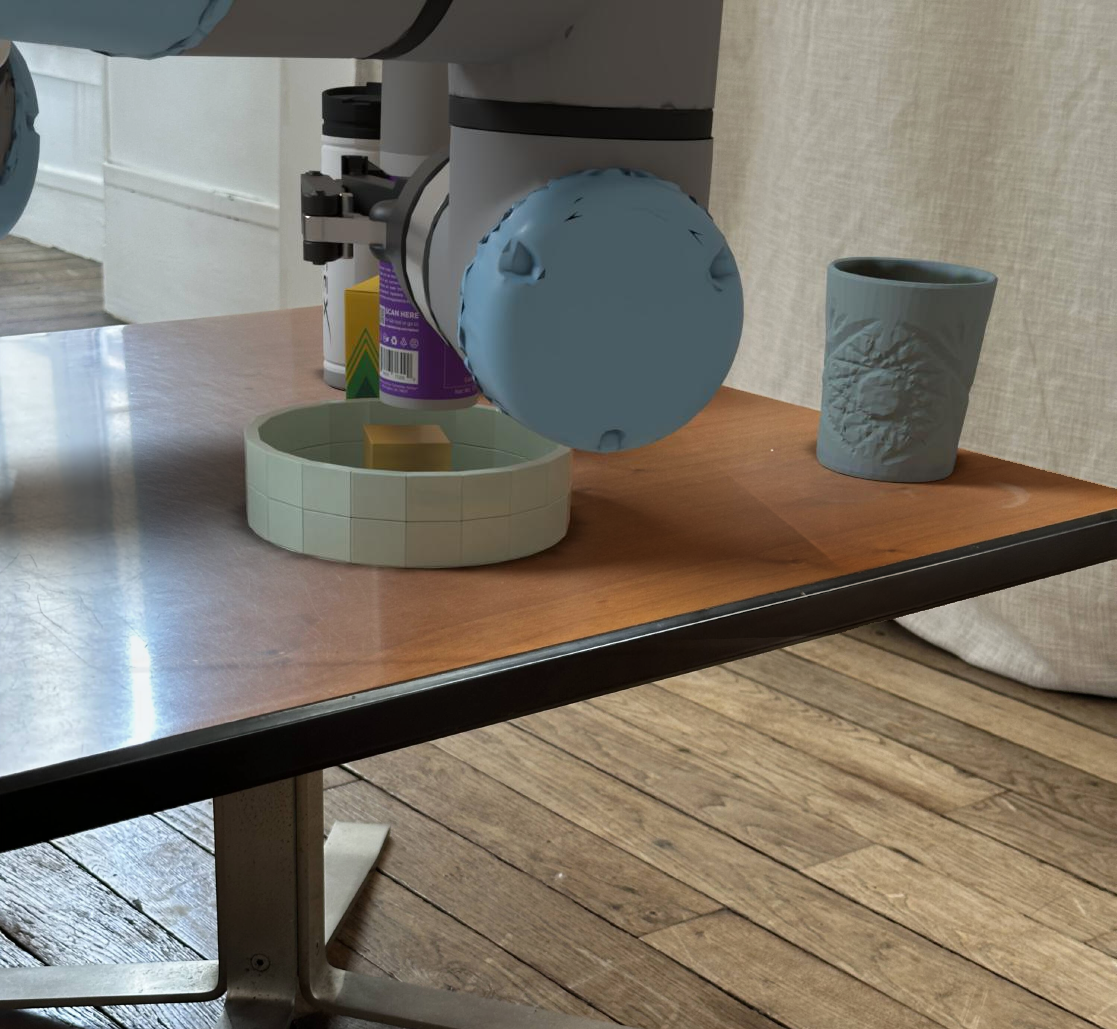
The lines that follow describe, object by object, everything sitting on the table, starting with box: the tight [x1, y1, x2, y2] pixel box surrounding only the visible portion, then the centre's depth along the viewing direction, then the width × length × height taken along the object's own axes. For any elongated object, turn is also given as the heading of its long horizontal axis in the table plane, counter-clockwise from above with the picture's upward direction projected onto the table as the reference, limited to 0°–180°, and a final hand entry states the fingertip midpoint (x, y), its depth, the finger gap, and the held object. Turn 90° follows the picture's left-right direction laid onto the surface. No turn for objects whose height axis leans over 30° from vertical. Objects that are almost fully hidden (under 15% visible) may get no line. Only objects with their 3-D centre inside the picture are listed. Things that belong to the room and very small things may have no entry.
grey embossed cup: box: [815, 256, 999, 483], centre depth 97 cm, size 10×10×12 cm
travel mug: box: [320, 81, 382, 391], centre depth 110 cm, size 6×7×20 cm
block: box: [363, 425, 451, 472], centre depth 82 cm, size 4×4×4 cm
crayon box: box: [344, 275, 380, 399], centre depth 96 cm, size 7×3×12 cm, turn 168°
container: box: [379, 60, 479, 411], centre depth 72 cm, size 5×5×15 cm
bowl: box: [243, 398, 575, 569], centre depth 81 cm, size 16×16×5 cm
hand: (414, 190), depth 76 cm, fingers closed on container, 5 cm apart
